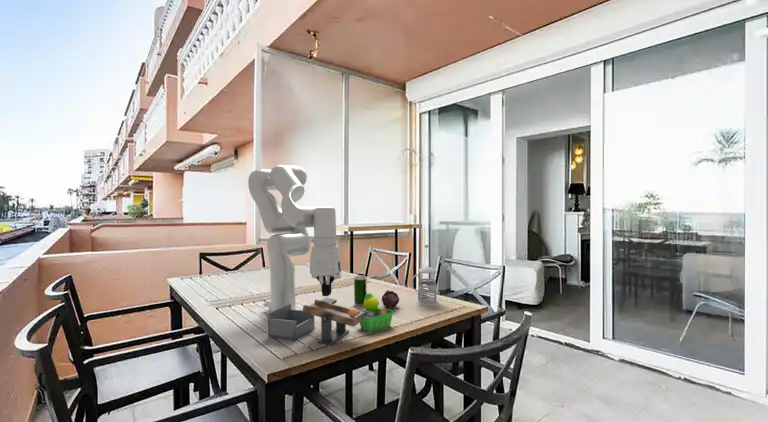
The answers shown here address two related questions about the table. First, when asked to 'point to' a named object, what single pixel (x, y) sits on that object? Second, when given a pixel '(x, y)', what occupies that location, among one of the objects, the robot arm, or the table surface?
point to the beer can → (360, 290)
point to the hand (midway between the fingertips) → (326, 295)
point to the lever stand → (328, 334)
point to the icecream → (390, 299)
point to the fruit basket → (375, 314)
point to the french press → (423, 298)
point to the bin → (289, 323)
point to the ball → (352, 312)
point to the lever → (333, 311)
